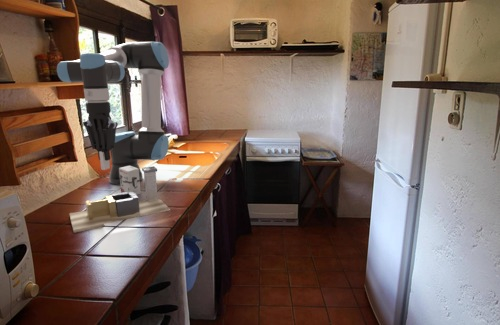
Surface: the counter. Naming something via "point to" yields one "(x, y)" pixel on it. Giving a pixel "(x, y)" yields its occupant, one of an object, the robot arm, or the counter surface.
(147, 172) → the grey long block
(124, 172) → the ink box
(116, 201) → the dark grey hollow housing
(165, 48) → the robot arm
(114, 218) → the mounting board
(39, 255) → the counter surface
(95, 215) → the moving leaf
